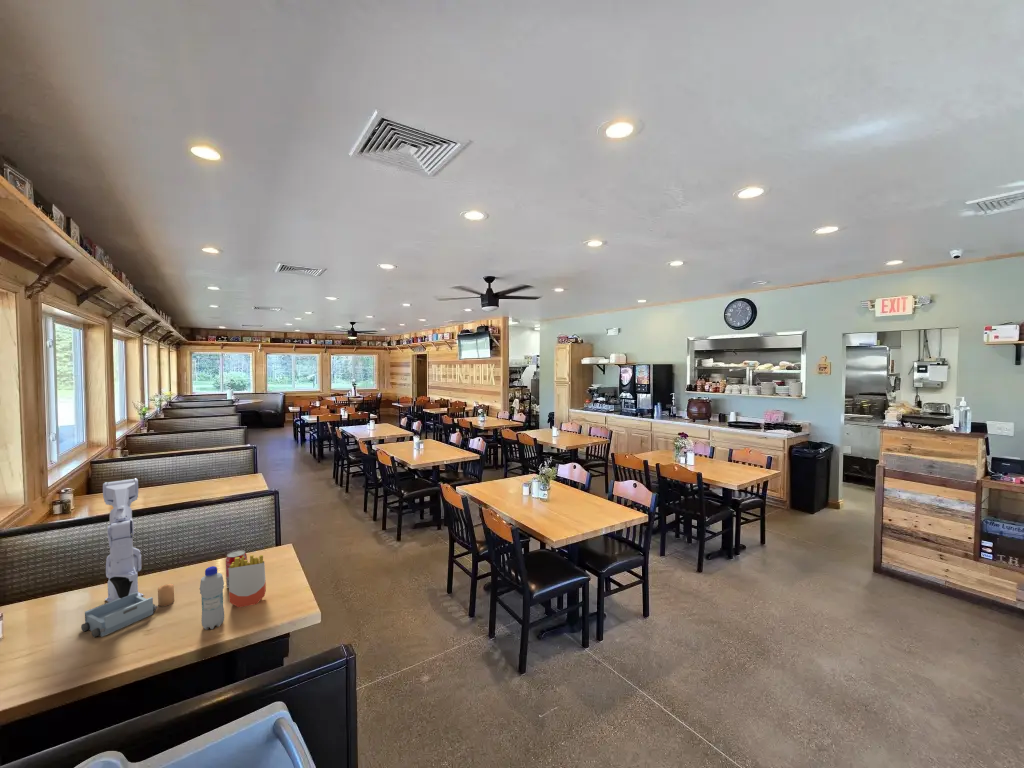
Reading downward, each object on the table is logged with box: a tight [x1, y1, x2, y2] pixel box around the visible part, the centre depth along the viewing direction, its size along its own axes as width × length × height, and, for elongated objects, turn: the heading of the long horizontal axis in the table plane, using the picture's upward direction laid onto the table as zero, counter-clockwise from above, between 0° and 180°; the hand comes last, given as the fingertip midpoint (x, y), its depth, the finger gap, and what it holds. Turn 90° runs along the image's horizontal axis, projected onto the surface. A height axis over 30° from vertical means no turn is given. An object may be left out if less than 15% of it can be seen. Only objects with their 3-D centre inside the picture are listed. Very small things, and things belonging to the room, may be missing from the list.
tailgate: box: [104, 596, 154, 629], centre depth 145 cm, size 1×13×4 cm, turn 155°
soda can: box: [225, 549, 248, 589], centre depth 171 cm, size 7×7×13 cm
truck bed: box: [80, 591, 158, 638], centre depth 147 cm, size 12×17×6 cm
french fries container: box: [228, 554, 267, 608], centre depth 159 cm, size 5×11×18 cm, turn 113°
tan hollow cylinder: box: [157, 583, 175, 607], centre depth 159 cm, size 5×5×7 cm
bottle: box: [199, 565, 225, 630], centre depth 145 cm, size 7×7×20 cm
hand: (123, 596), depth 146 cm, fingers closed
